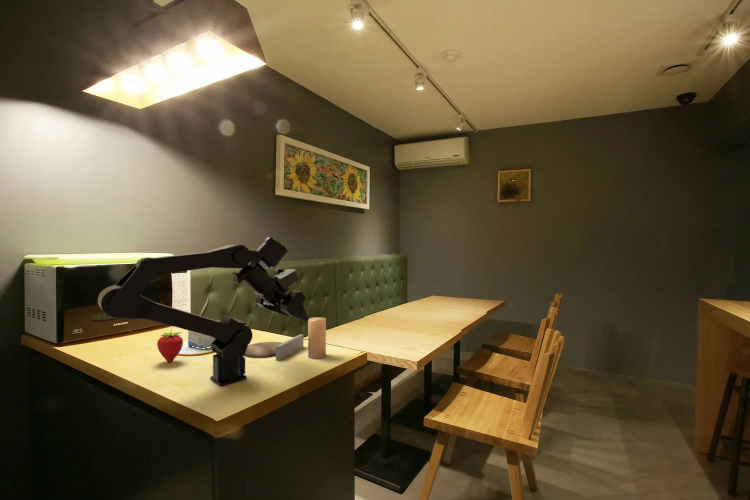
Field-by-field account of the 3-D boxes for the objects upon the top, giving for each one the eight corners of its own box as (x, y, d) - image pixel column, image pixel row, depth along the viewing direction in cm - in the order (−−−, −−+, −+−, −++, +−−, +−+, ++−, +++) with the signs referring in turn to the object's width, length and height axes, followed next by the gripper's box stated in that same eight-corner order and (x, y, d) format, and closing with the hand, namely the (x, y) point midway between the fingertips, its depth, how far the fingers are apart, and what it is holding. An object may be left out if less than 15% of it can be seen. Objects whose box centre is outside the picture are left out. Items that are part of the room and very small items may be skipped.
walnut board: (254, 361, 99) (254, 358, 99) (233, 350, 109) (233, 348, 109) (297, 350, 109) (297, 347, 109) (273, 341, 119) (273, 339, 119)
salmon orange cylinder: (315, 360, 100) (315, 321, 100) (304, 356, 104) (304, 319, 104) (329, 355, 104) (329, 319, 104) (318, 352, 107) (318, 316, 107)
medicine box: (187, 346, 113) (187, 320, 113) (200, 343, 117) (199, 317, 117) (203, 350, 110) (203, 322, 110) (215, 346, 114) (215, 319, 114)
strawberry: (173, 357, 102) (173, 323, 102) (188, 361, 99) (188, 326, 98) (152, 363, 97) (151, 327, 97) (166, 368, 94) (166, 330, 93)
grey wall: (279, 360, 100) (279, 346, 99) (275, 360, 100) (275, 346, 100) (303, 346, 113) (303, 334, 113) (300, 346, 113) (300, 334, 113)
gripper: (299, 260, 89) (334, 299, 96) (265, 258, 102) (298, 292, 110) (271, 294, 83) (310, 332, 91) (238, 287, 97) (275, 321, 104)
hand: (298, 317), depth 99 cm, fingers open, 9 cm apart
